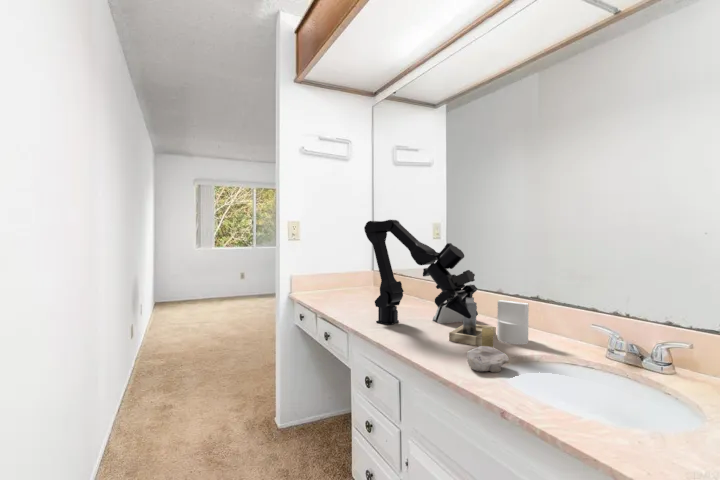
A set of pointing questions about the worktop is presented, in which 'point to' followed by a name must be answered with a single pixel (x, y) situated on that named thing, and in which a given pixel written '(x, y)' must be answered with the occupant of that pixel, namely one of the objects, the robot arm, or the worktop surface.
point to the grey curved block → (447, 315)
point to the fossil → (486, 359)
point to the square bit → (487, 336)
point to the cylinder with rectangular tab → (512, 322)
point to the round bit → (470, 324)
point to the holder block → (468, 336)
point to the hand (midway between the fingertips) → (473, 316)
